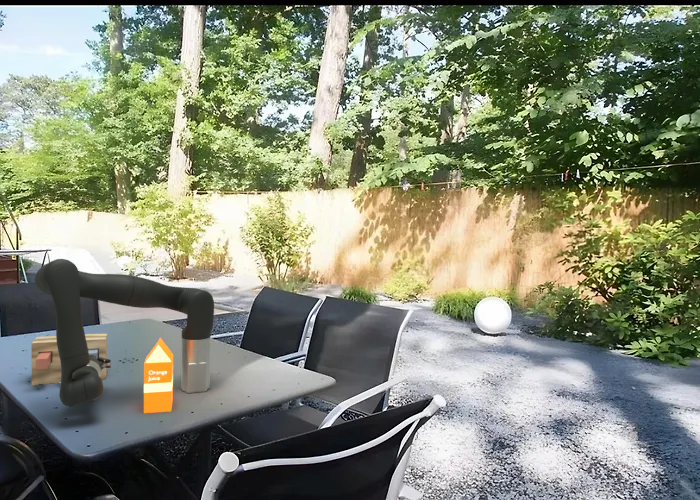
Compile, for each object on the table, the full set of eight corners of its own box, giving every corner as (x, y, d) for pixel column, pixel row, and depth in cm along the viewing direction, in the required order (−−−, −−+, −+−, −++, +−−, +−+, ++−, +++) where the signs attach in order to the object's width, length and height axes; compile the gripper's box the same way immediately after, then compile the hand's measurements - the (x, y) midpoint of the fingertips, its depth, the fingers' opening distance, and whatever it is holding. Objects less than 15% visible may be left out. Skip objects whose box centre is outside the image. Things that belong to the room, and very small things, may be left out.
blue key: (96, 362, 171) (96, 353, 171) (86, 363, 170) (86, 353, 169) (99, 354, 181) (99, 345, 181) (88, 355, 180) (88, 346, 180)
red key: (47, 368, 163) (47, 358, 163) (35, 369, 161) (35, 359, 161) (52, 359, 173) (52, 350, 173) (41, 360, 172) (41, 350, 171)
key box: (105, 379, 177) (105, 339, 176) (31, 385, 168) (31, 343, 168) (107, 371, 186) (107, 333, 185) (37, 376, 178) (36, 336, 177)
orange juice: (143, 413, 147) (143, 344, 146) (146, 402, 156) (146, 337, 155) (171, 411, 150) (172, 343, 148) (173, 400, 158) (174, 336, 157)
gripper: (111, 358, 157) (113, 345, 173) (61, 362, 151) (68, 348, 167) (111, 382, 157) (113, 367, 173) (61, 387, 152) (68, 370, 168)
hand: (91, 358), depth 170 cm, fingers closed
